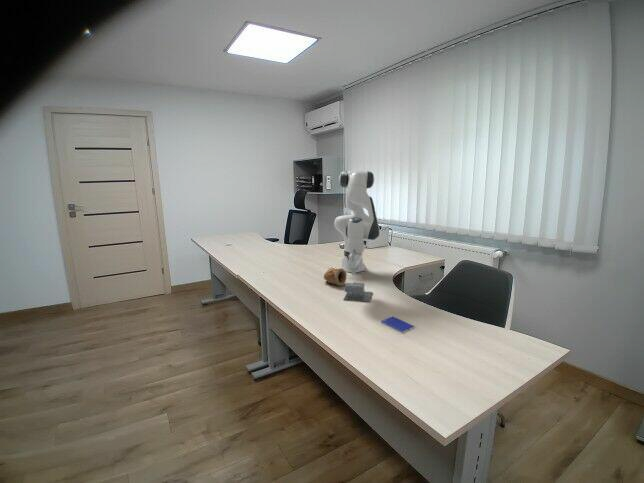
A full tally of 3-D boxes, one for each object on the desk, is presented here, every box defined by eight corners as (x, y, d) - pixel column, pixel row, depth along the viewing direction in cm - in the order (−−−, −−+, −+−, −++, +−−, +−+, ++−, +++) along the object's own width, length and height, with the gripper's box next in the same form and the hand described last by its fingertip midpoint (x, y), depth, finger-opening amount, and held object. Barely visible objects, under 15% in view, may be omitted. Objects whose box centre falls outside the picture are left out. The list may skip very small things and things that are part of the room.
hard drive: (380, 320, 149) (401, 331, 139) (393, 316, 153) (414, 325, 143) (380, 323, 149) (401, 334, 139) (393, 319, 154) (414, 328, 144)
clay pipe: (323, 292, 199) (346, 286, 194) (317, 276, 197) (340, 270, 193) (330, 281, 216) (351, 276, 212) (325, 266, 215) (346, 261, 210)
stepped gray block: (364, 293, 183) (364, 283, 182) (362, 297, 177) (362, 287, 176) (346, 292, 186) (346, 282, 185) (344, 296, 180) (344, 285, 179)
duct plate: (348, 291, 189) (348, 284, 189) (372, 293, 186) (372, 286, 185) (343, 300, 176) (343, 293, 175) (369, 302, 173) (369, 295, 172)
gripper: (358, 253, 165) (358, 279, 168) (364, 244, 185) (363, 267, 188) (346, 252, 167) (345, 278, 170) (353, 243, 186) (352, 266, 189)
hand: (355, 272), depth 179 cm, fingers open, 8 cm apart
